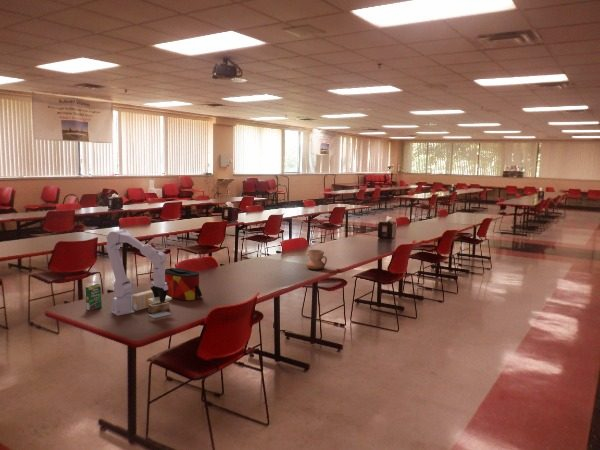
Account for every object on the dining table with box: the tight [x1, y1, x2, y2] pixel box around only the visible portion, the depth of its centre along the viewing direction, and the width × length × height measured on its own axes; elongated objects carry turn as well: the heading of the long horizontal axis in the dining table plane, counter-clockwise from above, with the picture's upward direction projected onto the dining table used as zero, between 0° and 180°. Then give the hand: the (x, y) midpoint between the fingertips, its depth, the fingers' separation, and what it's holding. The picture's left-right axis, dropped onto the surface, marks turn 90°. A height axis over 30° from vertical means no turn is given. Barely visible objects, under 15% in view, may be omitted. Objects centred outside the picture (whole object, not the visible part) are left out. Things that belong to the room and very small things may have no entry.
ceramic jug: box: [305, 249, 328, 271], centre depth 365 cm, size 18×14×14 cm
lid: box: [148, 295, 173, 303], centre depth 248 cm, size 11×5×1 cm, turn 134°
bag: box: [165, 267, 203, 302], centre depth 284 cm, size 30×14×16 cm, turn 58°
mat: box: [147, 310, 173, 319], centre depth 249 cm, size 10×7×1 cm
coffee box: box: [84, 283, 103, 312], centre depth 256 cm, size 8×3×13 cm, turn 151°
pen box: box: [147, 301, 170, 314], centre depth 255 cm, size 10×4×4 cm, turn 133°
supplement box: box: [131, 289, 154, 311], centre depth 261 cm, size 8×5×13 cm
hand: (159, 300), depth 248 cm, fingers closed on lid, 5 cm apart
